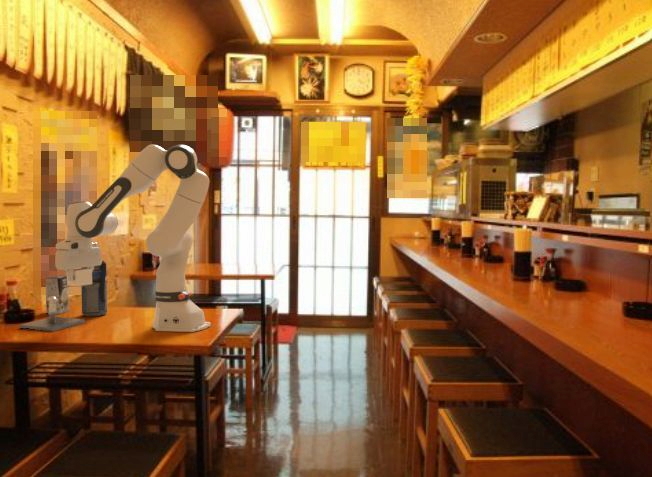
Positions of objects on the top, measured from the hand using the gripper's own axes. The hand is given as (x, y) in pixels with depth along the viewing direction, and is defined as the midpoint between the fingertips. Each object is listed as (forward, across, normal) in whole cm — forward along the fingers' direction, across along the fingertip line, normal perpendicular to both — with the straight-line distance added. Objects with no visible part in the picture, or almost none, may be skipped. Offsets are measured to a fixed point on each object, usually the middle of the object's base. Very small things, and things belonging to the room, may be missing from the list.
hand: (80, 279), depth 192 cm
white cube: (+2, 0, 0) cm, 2 cm away
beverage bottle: (+20, -22, -13) cm, 32 cm away
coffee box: (+20, -22, -34) cm, 45 cm away
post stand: (+19, 0, -14) cm, 24 cm away
